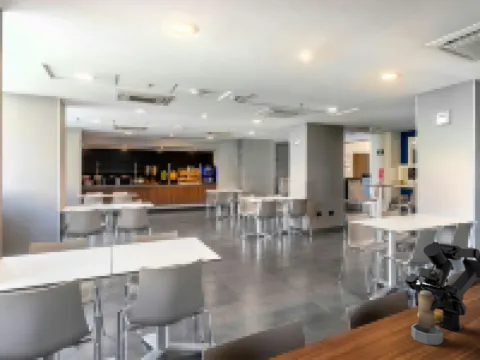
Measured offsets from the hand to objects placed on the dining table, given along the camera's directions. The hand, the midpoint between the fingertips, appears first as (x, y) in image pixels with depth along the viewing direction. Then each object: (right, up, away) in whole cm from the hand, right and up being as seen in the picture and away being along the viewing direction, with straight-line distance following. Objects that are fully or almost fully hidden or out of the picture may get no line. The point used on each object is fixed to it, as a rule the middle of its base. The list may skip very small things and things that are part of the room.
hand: (424, 307), depth 119 cm
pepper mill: (+1, -7, +1) cm, 7 cm away
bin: (+1, -11, +1) cm, 11 cm away
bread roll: (+12, -12, +17) cm, 24 cm away
